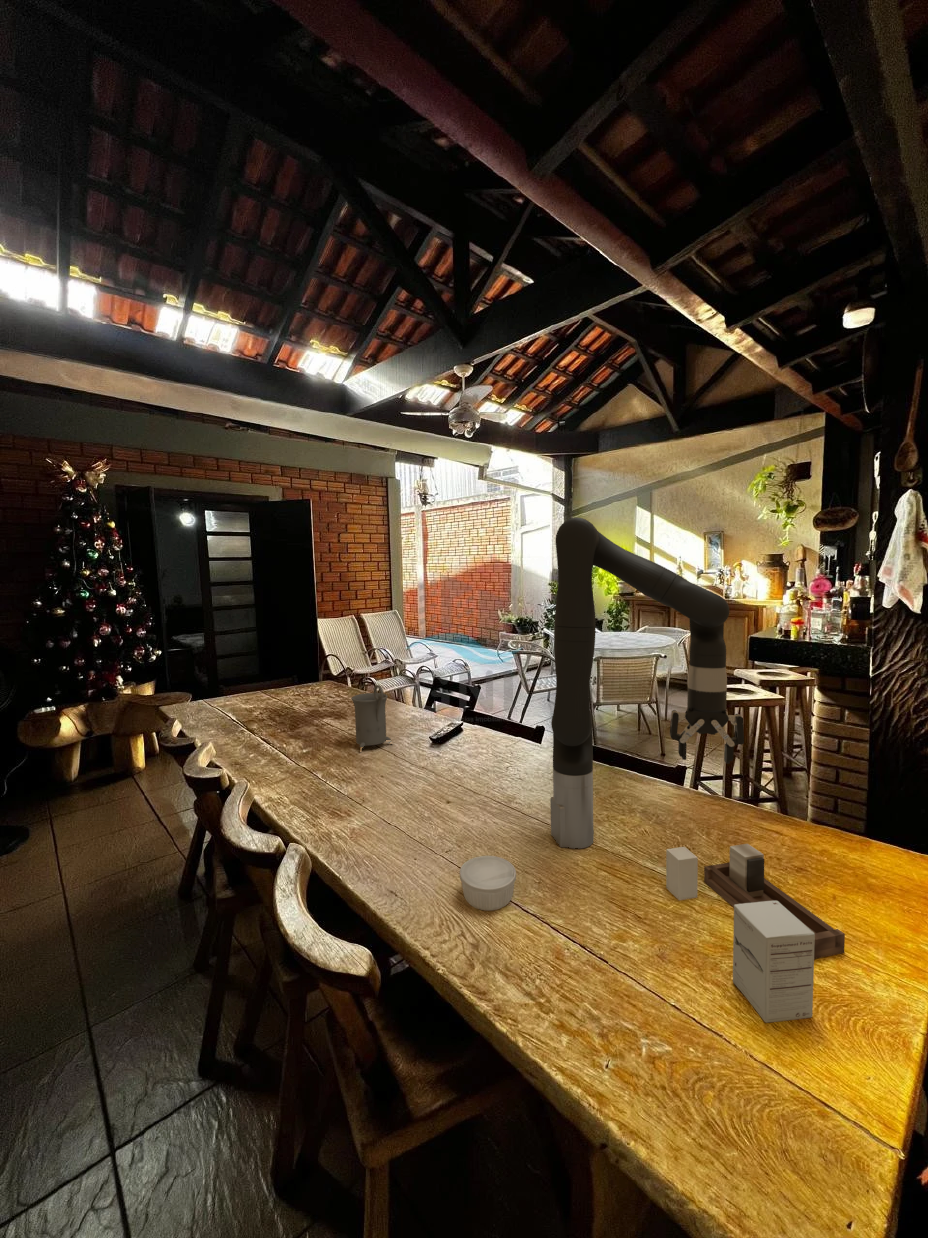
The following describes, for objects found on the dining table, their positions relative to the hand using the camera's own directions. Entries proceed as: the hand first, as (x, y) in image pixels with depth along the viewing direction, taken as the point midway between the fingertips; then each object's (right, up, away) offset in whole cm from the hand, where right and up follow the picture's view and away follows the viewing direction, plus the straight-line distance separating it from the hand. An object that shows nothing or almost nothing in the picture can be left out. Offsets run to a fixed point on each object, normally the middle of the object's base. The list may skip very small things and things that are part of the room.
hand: (705, 760), depth 107 cm
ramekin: (-47, -24, -10) cm, 54 cm away
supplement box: (-8, -25, -35) cm, 44 cm away
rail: (+3, -23, -17) cm, 29 cm away
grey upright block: (-10, -23, -10) cm, 27 cm away
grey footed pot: (-87, -19, +83) cm, 122 cm away
